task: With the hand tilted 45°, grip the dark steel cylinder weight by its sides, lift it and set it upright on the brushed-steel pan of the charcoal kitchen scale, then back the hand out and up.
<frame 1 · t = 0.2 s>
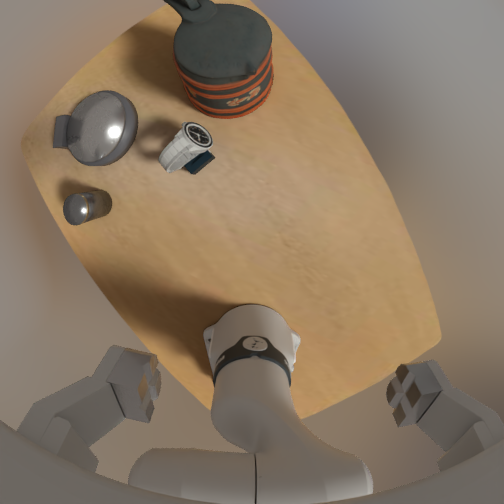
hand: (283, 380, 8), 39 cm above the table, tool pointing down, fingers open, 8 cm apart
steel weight: (101, 203, 45), on the table
watch: (195, 153, 43), on the table
scale: (105, 129, 41), on the table
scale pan: (94, 126, 37), point 4 cm above the table, slide at -0.2 cm
beer stein: (221, 72, 39), on the table
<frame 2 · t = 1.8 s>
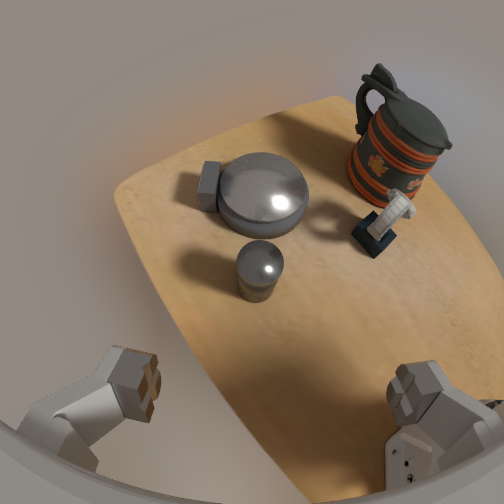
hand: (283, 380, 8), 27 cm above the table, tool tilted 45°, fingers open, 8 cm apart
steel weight: (255, 285, 38), on the table
watch: (369, 238, 42), on the table
scale: (261, 199, 43), on the table
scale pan: (263, 184, 39), point 4 cm above the table, slide at -0.2 cm
beer stein: (371, 171, 48), on the table
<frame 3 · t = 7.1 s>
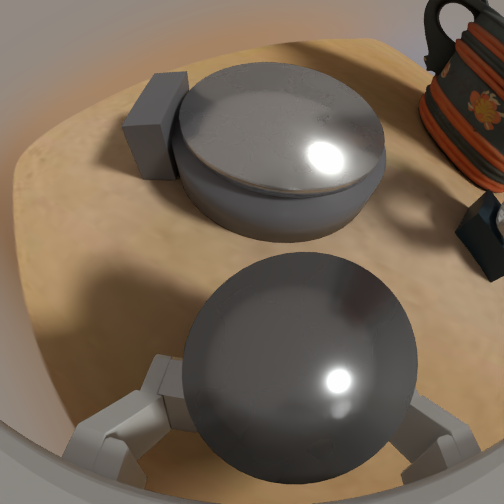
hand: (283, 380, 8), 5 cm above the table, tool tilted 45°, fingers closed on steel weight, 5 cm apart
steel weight: (267, 367, 13), on the table, touching gripper
watch: (479, 243, 17), on the table
scale: (277, 154, 19), on the table
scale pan: (284, 111, 15), point 4 cm above the table, slide at -0.2 cm
beer stein: (451, 131, 23), on the table
when the fingers open (11 cm above the table, at t = 13.0 s): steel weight drops 2 cm, resting on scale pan.
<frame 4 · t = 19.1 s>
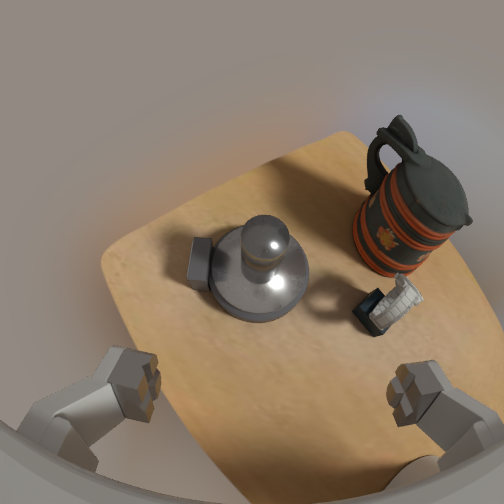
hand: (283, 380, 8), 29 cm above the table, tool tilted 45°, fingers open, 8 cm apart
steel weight: (259, 266, 37), point 4 cm above the table, touching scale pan
watch: (371, 314, 39), on the table
scale: (257, 275, 40), on the table
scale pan: (259, 267, 37), point 4 cm above the table, slide at -0.6 cm, touching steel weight
beer stein: (379, 230, 45), on the table
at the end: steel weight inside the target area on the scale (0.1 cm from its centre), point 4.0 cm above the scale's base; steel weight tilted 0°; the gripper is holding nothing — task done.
